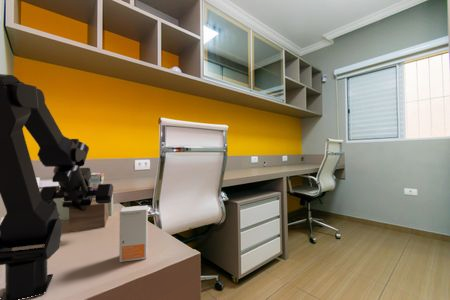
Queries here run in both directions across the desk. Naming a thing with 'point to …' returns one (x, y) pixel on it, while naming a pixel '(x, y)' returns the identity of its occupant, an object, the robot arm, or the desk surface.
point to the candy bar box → (96, 180)
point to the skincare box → (133, 233)
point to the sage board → (65, 211)
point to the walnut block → (89, 217)
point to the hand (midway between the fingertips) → (84, 209)
